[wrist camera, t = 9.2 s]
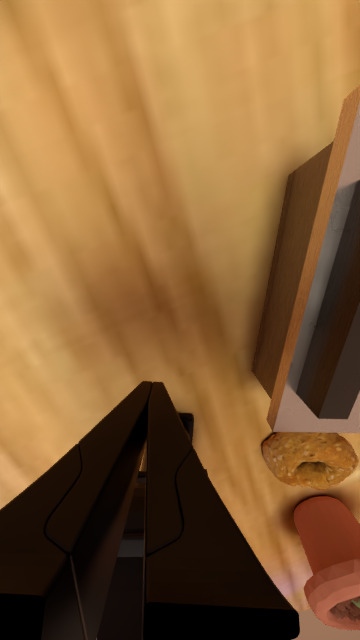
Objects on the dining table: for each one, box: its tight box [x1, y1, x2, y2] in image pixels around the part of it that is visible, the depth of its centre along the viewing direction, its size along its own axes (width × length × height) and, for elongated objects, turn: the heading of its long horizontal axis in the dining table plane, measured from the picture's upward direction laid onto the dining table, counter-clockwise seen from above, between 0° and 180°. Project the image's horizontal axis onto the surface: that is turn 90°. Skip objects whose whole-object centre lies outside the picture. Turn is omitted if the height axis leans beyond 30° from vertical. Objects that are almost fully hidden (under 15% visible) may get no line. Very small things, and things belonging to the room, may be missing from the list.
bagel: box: [262, 432, 358, 490], centre depth 24 cm, size 10×11×5 cm
